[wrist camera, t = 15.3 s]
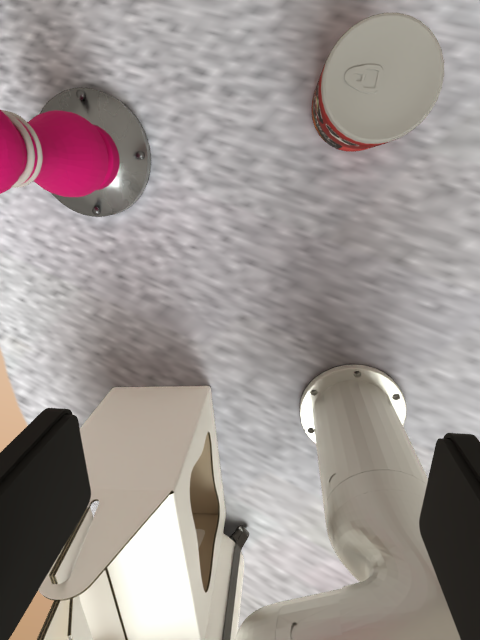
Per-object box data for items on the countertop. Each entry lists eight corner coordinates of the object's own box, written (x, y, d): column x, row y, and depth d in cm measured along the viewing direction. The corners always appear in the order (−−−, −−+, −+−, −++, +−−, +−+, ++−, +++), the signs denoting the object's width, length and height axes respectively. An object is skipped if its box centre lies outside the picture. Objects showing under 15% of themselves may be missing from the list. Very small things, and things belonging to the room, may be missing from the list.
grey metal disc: (155, 216, 41) (151, 217, 40) (51, 215, 42) (43, 216, 41) (145, 88, 37) (139, 85, 35) (29, 91, 38) (19, 88, 37)
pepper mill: (84, 208, 40) (-85, 235, 22) (42, 143, 38) (-183, 113, 20) (138, 172, 38) (3, 168, 20) (96, 102, 37) (-96, 26, 18)
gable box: (226, 515, 56) (177, 813, 30) (140, 512, 57) (22, 792, 31) (210, 383, 48) (124, 629, 22) (111, 384, 50) (-77, 615, 24)
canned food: (307, 69, 35) (317, 25, 25) (398, 51, 34) (448, -3, 23) (313, 158, 37) (325, 152, 27) (398, 145, 36) (443, 133, 26)
